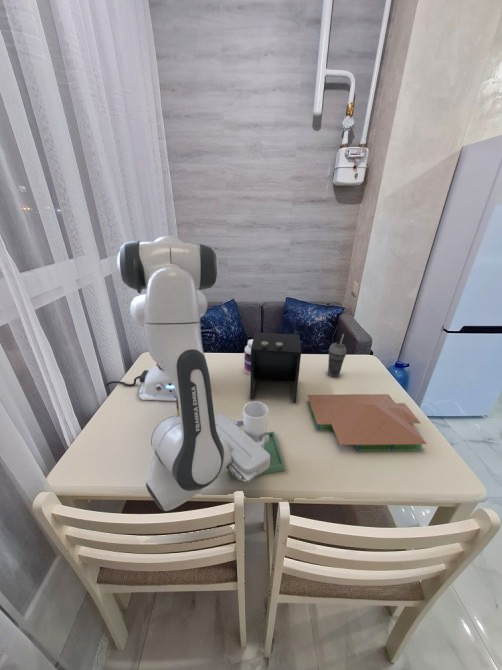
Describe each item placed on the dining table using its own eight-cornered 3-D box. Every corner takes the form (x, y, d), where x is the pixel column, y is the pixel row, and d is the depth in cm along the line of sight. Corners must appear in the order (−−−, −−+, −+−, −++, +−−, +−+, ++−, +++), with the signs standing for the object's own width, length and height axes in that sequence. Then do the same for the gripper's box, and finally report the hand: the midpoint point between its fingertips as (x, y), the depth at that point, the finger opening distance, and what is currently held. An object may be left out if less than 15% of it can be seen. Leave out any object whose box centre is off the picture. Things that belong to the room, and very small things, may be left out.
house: (433, 451, 78) (441, 431, 75) (322, 452, 77) (326, 432, 74) (393, 401, 99) (399, 383, 95) (306, 401, 98) (308, 383, 94)
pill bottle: (240, 369, 117) (240, 340, 111) (255, 364, 122) (255, 336, 115) (251, 378, 111) (252, 348, 105) (266, 372, 116) (267, 342, 110)
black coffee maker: (295, 403, 97) (301, 349, 87) (250, 399, 99) (250, 346, 89) (294, 381, 110) (299, 331, 100) (254, 378, 111) (255, 329, 102)
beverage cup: (328, 368, 119) (334, 328, 110) (344, 373, 115) (352, 332, 107) (322, 375, 114) (328, 334, 105) (338, 381, 110) (346, 338, 101)
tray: (232, 477, 70) (231, 472, 69) (228, 441, 81) (228, 436, 80) (283, 470, 72) (284, 465, 71) (273, 436, 83) (273, 431, 82)
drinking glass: (246, 462, 71) (246, 420, 65) (240, 443, 77) (240, 403, 71) (269, 457, 73) (272, 415, 67) (261, 438, 79) (263, 398, 73)
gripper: (244, 475, 56) (286, 441, 64) (193, 423, 69) (234, 400, 78) (243, 495, 58) (285, 459, 67) (195, 440, 72) (234, 417, 81)
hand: (257, 427), depth 72 cm, fingers closed on drinking glass, 6 cm apart
